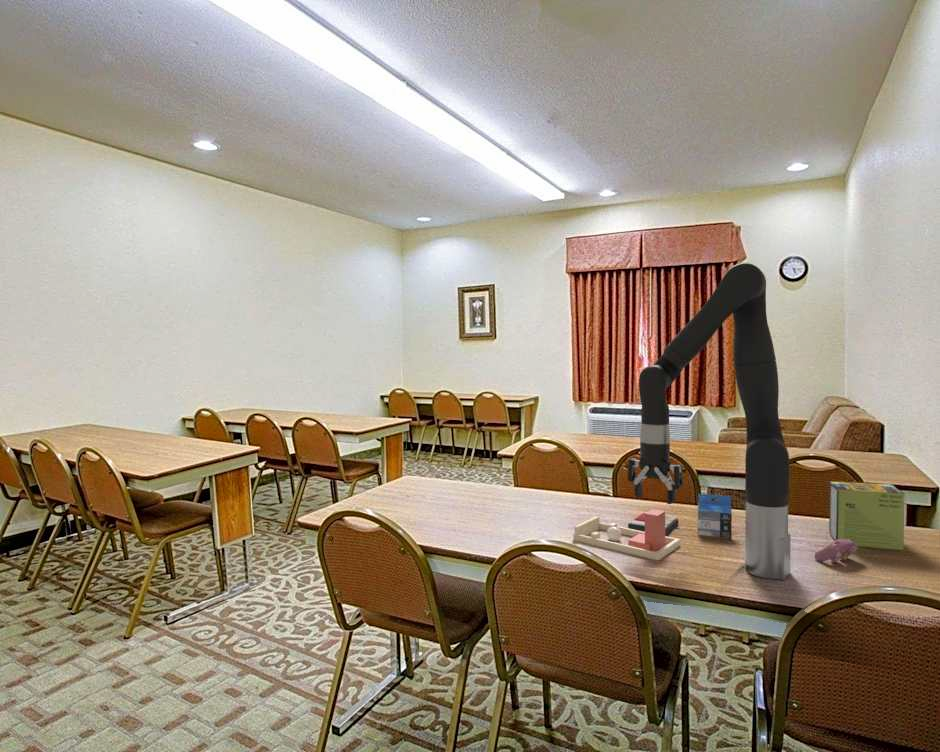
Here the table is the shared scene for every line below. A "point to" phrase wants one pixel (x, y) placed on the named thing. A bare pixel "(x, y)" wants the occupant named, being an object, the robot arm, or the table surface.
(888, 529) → the protein box
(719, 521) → the label tape cartridge
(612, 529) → the ball
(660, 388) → the robot arm
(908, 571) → the table surface
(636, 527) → the calculator
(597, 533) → the pitch
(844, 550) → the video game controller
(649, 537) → the block
